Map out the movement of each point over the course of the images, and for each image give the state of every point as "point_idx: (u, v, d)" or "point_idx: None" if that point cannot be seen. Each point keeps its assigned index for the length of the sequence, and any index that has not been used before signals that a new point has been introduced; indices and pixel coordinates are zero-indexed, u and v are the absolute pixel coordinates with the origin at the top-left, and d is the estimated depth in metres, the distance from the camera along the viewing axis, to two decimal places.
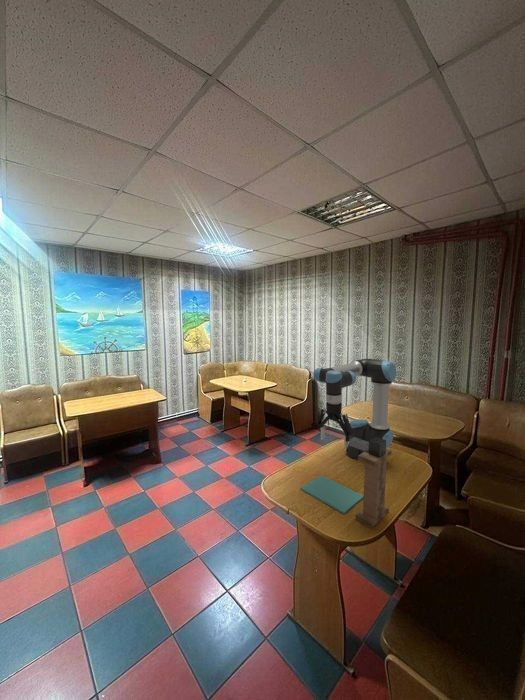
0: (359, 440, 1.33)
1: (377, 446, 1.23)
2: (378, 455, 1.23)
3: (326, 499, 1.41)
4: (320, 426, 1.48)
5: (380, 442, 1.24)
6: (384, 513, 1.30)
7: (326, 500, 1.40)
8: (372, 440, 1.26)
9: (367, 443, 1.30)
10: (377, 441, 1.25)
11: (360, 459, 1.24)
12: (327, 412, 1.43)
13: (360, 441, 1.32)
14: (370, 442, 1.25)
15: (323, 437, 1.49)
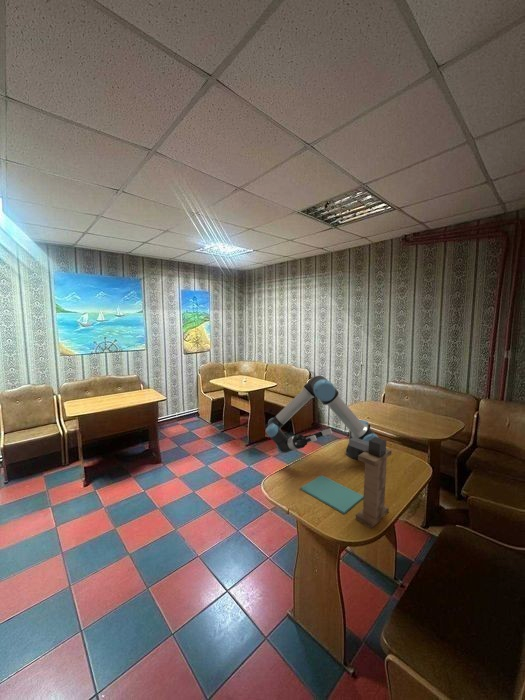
0: (359, 440, 1.33)
1: (377, 446, 1.23)
2: (378, 455, 1.23)
3: (326, 499, 1.41)
4: None
5: (380, 442, 1.24)
6: (384, 513, 1.30)
7: (326, 500, 1.40)
8: (372, 440, 1.26)
9: (367, 443, 1.30)
10: (377, 441, 1.25)
11: (360, 459, 1.24)
12: None
13: (360, 441, 1.32)
14: (370, 442, 1.25)
15: (329, 431, 1.56)
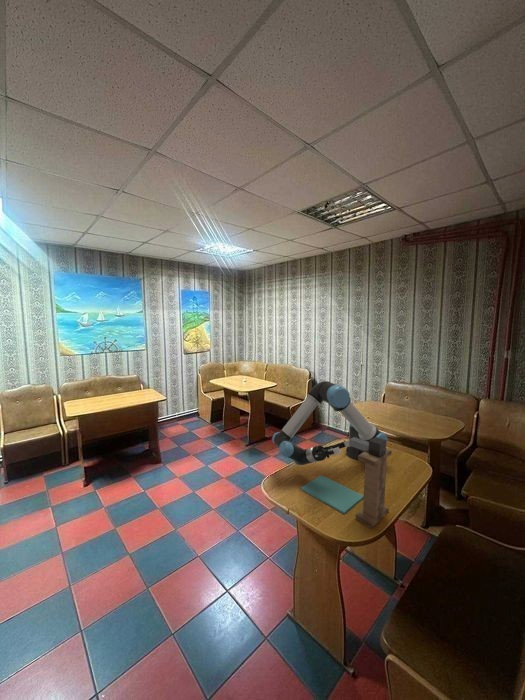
0: (359, 440, 1.33)
1: (377, 446, 1.23)
2: (378, 455, 1.23)
3: (326, 499, 1.41)
4: (345, 446, 1.46)
5: (380, 442, 1.24)
6: (384, 513, 1.30)
7: (326, 500, 1.40)
8: (372, 440, 1.26)
9: (367, 443, 1.30)
10: (377, 441, 1.25)
11: (360, 459, 1.24)
12: None
13: (360, 441, 1.32)
14: (370, 442, 1.25)
15: None
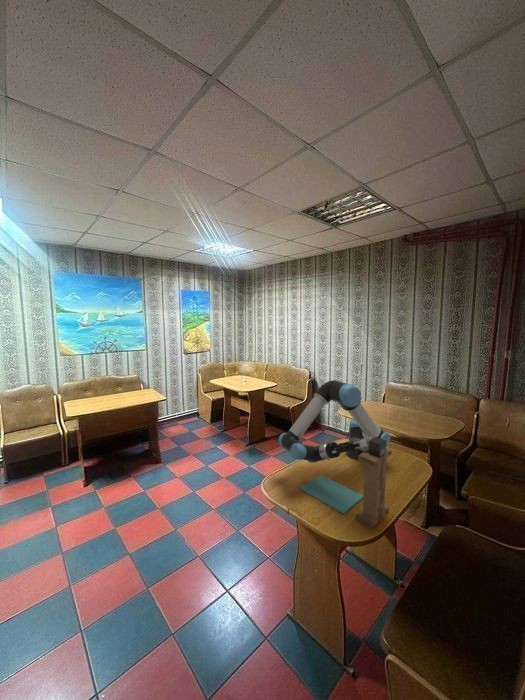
0: (359, 440, 1.33)
1: (377, 446, 1.23)
2: (378, 455, 1.23)
3: (326, 499, 1.41)
4: None
5: (380, 442, 1.24)
6: (384, 513, 1.30)
7: (326, 500, 1.40)
8: (372, 440, 1.26)
9: (367, 443, 1.30)
10: (377, 441, 1.25)
11: (360, 459, 1.24)
12: None
13: None
14: (370, 442, 1.25)
15: None
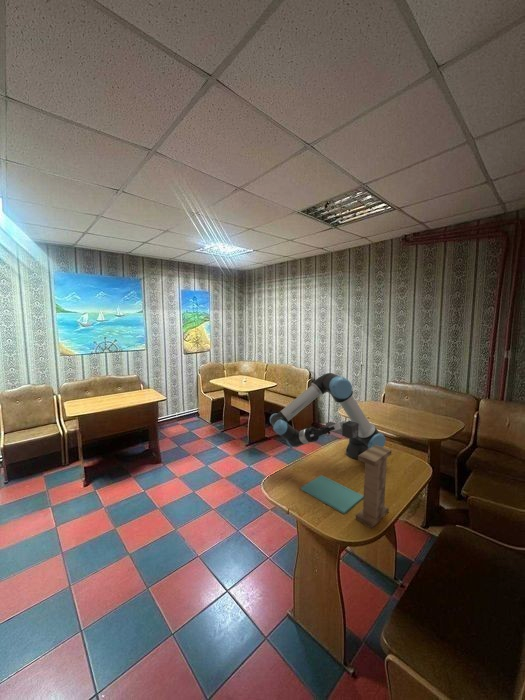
0: (334, 424, 1.42)
1: (349, 428, 1.33)
2: (350, 437, 1.32)
3: (326, 499, 1.41)
4: None
5: (352, 425, 1.33)
6: (384, 513, 1.30)
7: (326, 500, 1.40)
8: (345, 423, 1.35)
9: (341, 426, 1.39)
10: (349, 423, 1.35)
11: (360, 459, 1.24)
12: None
13: None
14: (343, 425, 1.35)
15: None
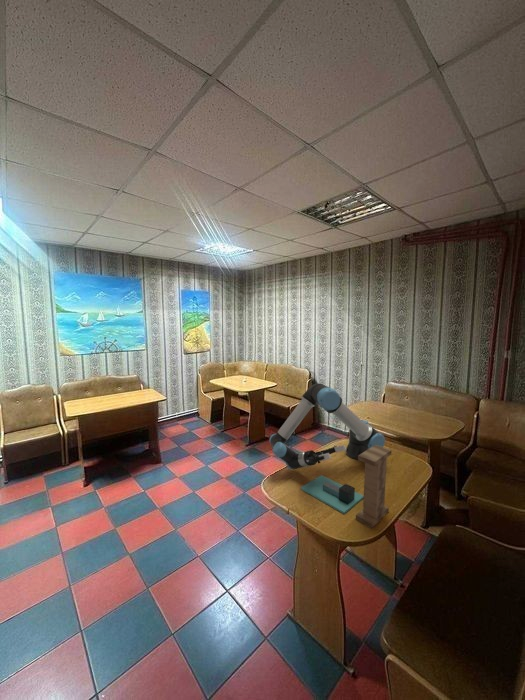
0: (331, 486, 1.46)
1: (346, 494, 1.37)
2: (347, 502, 1.37)
3: (326, 499, 1.41)
4: (336, 451, 1.52)
5: (349, 490, 1.38)
6: (384, 513, 1.30)
7: (326, 500, 1.40)
8: (342, 488, 1.40)
9: (338, 489, 1.43)
10: (346, 488, 1.39)
11: (360, 459, 1.24)
12: None
13: (332, 487, 1.46)
14: (340, 490, 1.39)
15: (343, 448, 1.47)
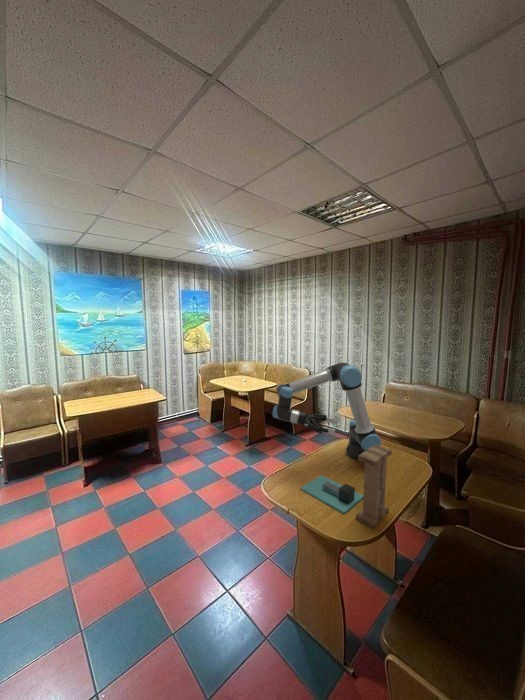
0: (331, 486, 1.46)
1: (346, 494, 1.37)
2: (347, 502, 1.37)
3: (326, 499, 1.41)
4: (325, 420, 1.68)
5: (349, 490, 1.38)
6: (384, 513, 1.30)
7: (326, 500, 1.40)
8: (342, 488, 1.40)
9: (338, 489, 1.43)
10: (346, 488, 1.39)
11: (360, 459, 1.24)
12: None
13: (332, 487, 1.46)
14: (340, 490, 1.39)
15: (335, 422, 1.65)
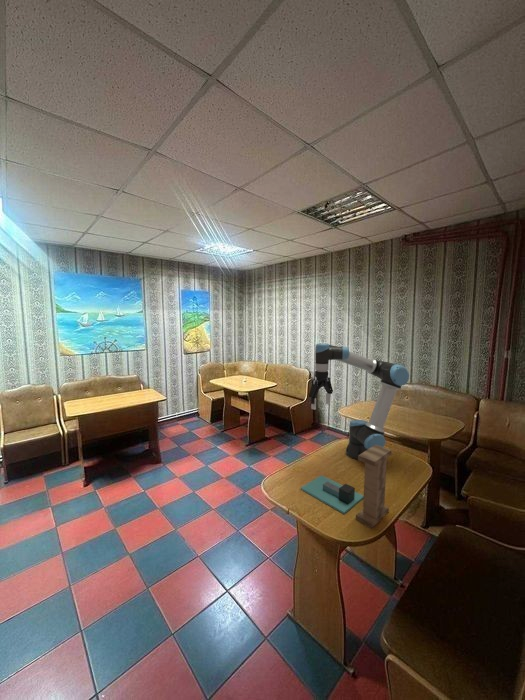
0: (331, 486, 1.46)
1: (346, 494, 1.37)
2: (347, 502, 1.37)
3: (326, 499, 1.41)
4: (327, 392, 1.70)
5: (349, 490, 1.38)
6: (384, 513, 1.30)
7: (326, 500, 1.40)
8: (342, 488, 1.40)
9: (338, 489, 1.43)
10: (346, 488, 1.39)
11: (360, 459, 1.24)
12: None
13: (332, 487, 1.46)
14: (340, 490, 1.39)
15: (327, 402, 1.69)
